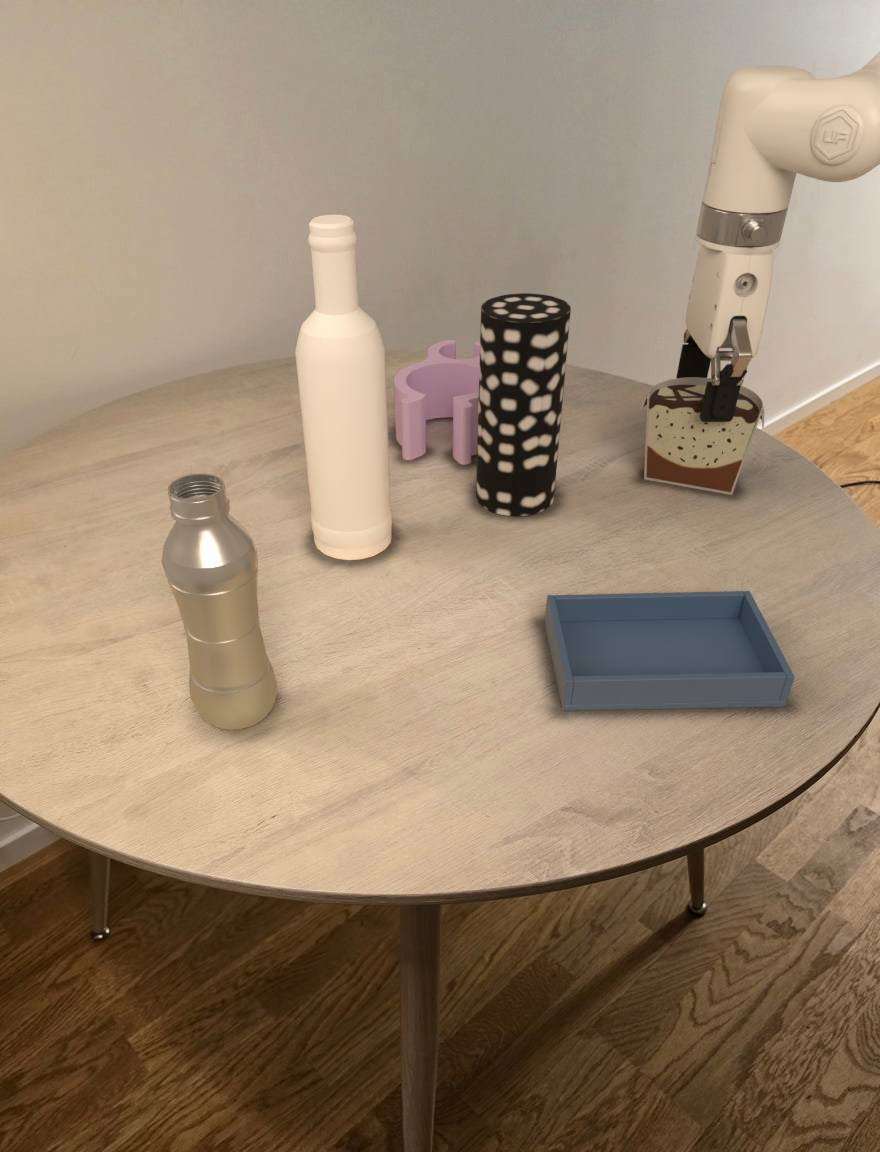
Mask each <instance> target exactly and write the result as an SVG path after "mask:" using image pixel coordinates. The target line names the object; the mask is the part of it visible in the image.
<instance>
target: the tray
mask: <svg viewBox="0 0 880 1152" xmlns="http://www.w3.org/2000/svg"><path fill="white" fill-rule="evenodd" d="M545 604H546V605H545V616H544V627H545V632H546V638H547V642H548V647H549V651H550V657H551V662H552V666H553V671H554V676H555V680H556V685H557V691H558V694H559V700H560V705H561V710H562V712H569V711H570V712H571V711H572V712H573V711H575V712H576V711H622V710H623V711H627V710H675V709H676V710H678V709H680V710H681V709H727V708H728V709H729V708H731V709H732V708H733V709H734V708H736V709H737V708H774V707H775V708H783V707H786V704H787V702H788V699H789V696H790V693H791V689H792V686H793V683H794V680H795V678H796V677H795V674H794V673H793V671H792V668H791V667H790V665H789V662H788V661H787V659H786V657H785V655H784V653H783V652H782V650H781V648H780V646H779V644H778V642H777V641H776V638H775V636H774V635H773V632H772V631H771V629H770V627H769V624H768V623H767V621H766V619H765V617H764V615H763V614H762V611H761V610H760V608H759V606H758V604H757V602H756V600H755V598H754V597H753V594H752V592H751V591H750V590H731V591H729V590H727V591H687V592H686V591H685V592H683V591H678V592H639V593H638V592H636V593H635V592H634V593H631V592H630V593H591V594H589V593H588V594H587V593H586V594H583V593H581V594H547V596H546V603H545Z"/></svg>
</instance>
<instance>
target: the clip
mask: <svg viewBox="0 0 880 1152" xmlns="http://www.w3.org/2000/svg"><path fill="white" fill-rule="evenodd" d="M473 356H474V357H472V358H462V359H461V358H460V359H459V358H457V341H456V340H455V339H447V340H442V341H439V342H436V343H434V344H432V345H431V346H430V347H429V348H428V349H427V358H426V359H425V360H422V361H420V362H417V363H413V364H411V365H408V366H406V367H404V368H402V369H401V370H400V371H398V372H397V373H396V375H395V376H394V378H393V388H394V389H393V390H394V393H393V394H394V419H395V420H394V423H395V424H394V425H395V439H396V442H397V443H398V444H399V445H400V446H401V448H402V449H401V450H402V451H401V452H402V453H401V454H402V457H401V458H402V459H403V460H405V461H413V460H414V459H418V458H420V457H422V456H423V455H425V454H426V453H427V421H430V420H433V419H434V420H435V419H441V418H443V419H444V418H452V457H453V458H452V459H454V460H455V461H456V462H457V463H458V464H459V465H461V466H466V465H467V466H468V465H470V464H471V463H472V456H475V455H476V456H477V439H478V403H479V367H480V340H479V341H476V342H474V355H473Z"/></svg>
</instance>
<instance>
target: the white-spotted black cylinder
mask: <svg viewBox="0 0 880 1152" xmlns="http://www.w3.org/2000/svg"><path fill="white" fill-rule="evenodd" d="M571 309H572V307H571V305H570V304H569V302H567V301H566V300H564V299H562V298H559V297H556V296H553V295H547V294H541V293H531V292H529V293H528V292H525V293H524V292H520V293H510V294H502V295H498V296H494V297H491V298H489V299H487V300H485V301H484V302H482V304H481V307H480V334H479V335H480V336H479V341H480V367H479V403H478V439H477V454H476V477H475V478H476V479H475V480H476V481H475V499H476V502H477V503H478V504H479V505H480V507H482V508H483V509H485V510H487V511H489V512H491V513H494V514H497V515H502V516H508V517H524V516H525V517H527V516H533V515H537V514H539V513H542V512H543V511H546V510H548V509H549V508H550V507H551V505H552V504H553V503H554V500H555V490H556V481H557V480H556V479H557V468H558V457H559V445H560V434H561V426H562V425H561V423H562V412H563V402H564V401H563V400H564V391H565V378H566V369H567V368H566V367H567V356H568V345H569V333H570V323H571V313H572V310H571Z"/></svg>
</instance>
